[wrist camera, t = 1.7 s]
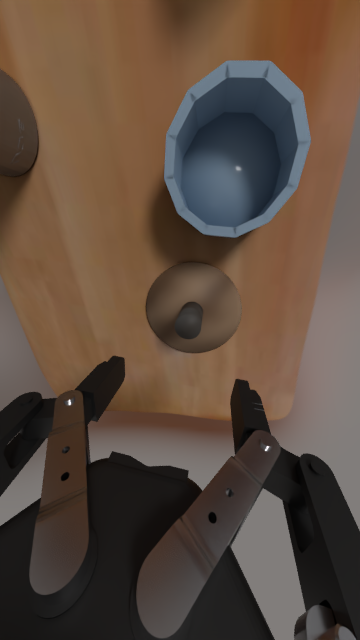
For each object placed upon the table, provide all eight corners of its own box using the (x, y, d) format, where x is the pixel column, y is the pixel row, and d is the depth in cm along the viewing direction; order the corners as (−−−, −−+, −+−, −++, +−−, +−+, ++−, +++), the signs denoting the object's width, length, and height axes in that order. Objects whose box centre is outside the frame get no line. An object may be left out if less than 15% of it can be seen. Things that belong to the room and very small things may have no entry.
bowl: (156, 196, 21) (141, 184, 17) (221, 76, 17) (224, 15, 12) (231, 256, 22) (236, 261, 18) (310, 159, 18) (343, 132, 13)
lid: (132, 316, 28) (113, 333, 23) (182, 240, 23) (173, 239, 18) (200, 364, 30) (197, 391, 24) (262, 303, 24) (276, 320, 19)
